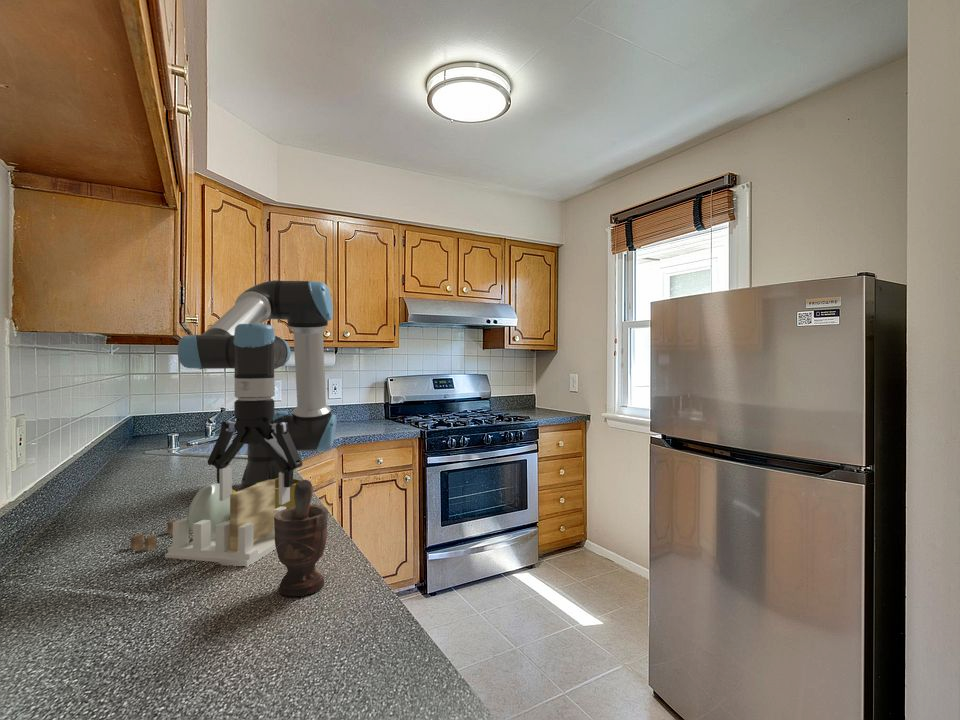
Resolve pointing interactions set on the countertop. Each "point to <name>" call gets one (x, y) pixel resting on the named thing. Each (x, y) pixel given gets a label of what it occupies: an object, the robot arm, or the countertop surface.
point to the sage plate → (209, 508)
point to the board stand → (149, 539)
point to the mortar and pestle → (301, 542)
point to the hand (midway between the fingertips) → (254, 500)
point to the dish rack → (219, 543)
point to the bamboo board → (252, 510)
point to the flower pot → (292, 489)
